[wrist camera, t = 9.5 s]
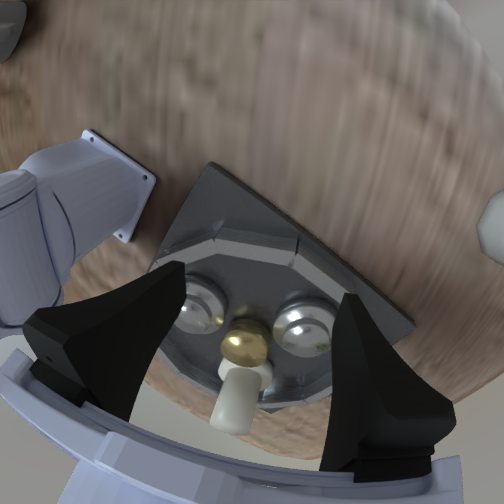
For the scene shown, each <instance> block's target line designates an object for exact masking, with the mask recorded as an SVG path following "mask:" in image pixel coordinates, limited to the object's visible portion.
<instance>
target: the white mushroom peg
mask: <svg viewBox="0 0 504 504" xmlns="http://www.w3.org/2000/svg"><path fill="white" fill-rule="evenodd" d="M218 373H219V376H220V378H221V379H222V380H223V381H224V382H223V385H222V388H221V391H220V394H219V396H218V399H217V402H216V405H215V408H214V410H213V413H212V416H211V419H210V424H211V425H212V426H213V427H214V428H216V429H218V430H219V431H221V432H224V433H227V434H231V435H246V434H248V433H249V432H250V428H251V424H252V420H253V417H254V413H255V409H256V405H257V401H258V397H259V393H260V391H263V390H265V389H267V388H268V387H269V386H270V385H271V381H272V377H273V366H272V365H271V363H270V362H269V361H268V360H267V359H266V361H265V362H264V363H263V364H262V365H260V366H257V367H252V368H247V367H241V366H238V365H235V364H233V363H231V362H230V361H228V360H227V359H226V358H225V357H223V359H222V361H221V364H220V367H219V369H218Z"/></svg>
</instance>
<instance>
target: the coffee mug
mask: <svg viewBox="0 0 504 504" xmlns="http://www.w3.org/2000/svg"><path fill="white" fill-rule="evenodd" d="M26 13H27V7H26V4H25V3H24V2H17V1H0V63H3V62H5V61H6V60H7V59H8V57H9V56H10V55H11V53H12V52H13V50H14V48H15V46H16V44H17V42H18V40H19V37H20V35H21V32H22V29H23V26H24V23H25V19H26Z"/></svg>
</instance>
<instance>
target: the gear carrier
mask: <svg viewBox="0 0 504 504" xmlns="http://www.w3.org/2000/svg"><path fill="white" fill-rule="evenodd" d="M172 260H175V261H180V262H185V277H186V291H187V298H186V301H185V303H184V305H183V308H182V310H181V312H180V314H179V316H178V317H177V319H176V321H175V322H174V324H173V325H172V327H171V329H170V330H169V332H168V333H167V335H166V337H165V338H164V340H163V341H162V343H161V344H160V346H159V348H158V349H157V351H156V353H157V355H158V356H159V357H160V358H161V359H162V360H163V362H164V363H165V364H166V365H167V366H168V367H169V368H170V369H171V371H172V372H173V373H174V374H176V375H177V376H178V377H180V378H182V379H183V380H185V381H187V382H188V383H190V384H192V385H194V386H195V387H197V388H199V389H201V390H202V391H204V392H206V393H208V394H210V395H212V396H213V397H215V398H216V397H217V398H218V396H219V394H220V391H221V388H222V385H223V382H224V381H223V380H222V379H221V378H220V376H219V373H218V369H219V367H220V364H221V361H222V359H223V357H225V358H226V359H227V360H228V361H230V362H231V363H233V364H235V365H238V366H241V367H247V368H252V367H257V366H260V365H262V364H263V363H264V362H265V361H266V359H267V360H268V361H269V362H270V363H271V365H272V366H273V377H272V381H271V385H270V386H269V387H268V388H267V389H265V390H263V391H260V393H259V397H258V401H257V405H256V407H257V408H260V409H262V410H264V411H266V412H268V413H270V414H271V413H274V412H276V411H278V410H280V409H282V408H285V407H291V406H301V405H309V404H312V403H314V402H316V401H318V400H320V399H322V398H324V397H326V396H328V395H330V394H332V360H331V339H332V327H333V324H334V321H335V318H336V315H337V313H338V310H339V307H340V304H341V301H342V298H343V295H344V293H345V292H346V293H352V294H358V296H359V297H360V299H361V300H362V302H363V304H364V305H365V307H366V309H367V310H368V312H369V314H370V315H371V317H372V319H373V320H374V322H375V323H376V325H377V327H378V328H379V330H380V331H381V332H382V334H383V335H384V337H385V338H386V339H387V341H388V342H389V344H390V345H391V346H392V345H394V344H395V343H396V342H398V341H399V340H401V339H402V338H403V337H405V336H406V335H407V334H409V333H410V332H411V331H413V330H414V329H415V328H416V325H415V322H414V320H413V319H412V318H410V317H409V316H408V315H407V314H406V313H405V312H404V311H403V310H401V309H400V308H399V307H398V306H397V305H396V304H395V303H394V302H392V301H391V300H390V299H389V298H388V297H387V296H386V295H384V294H383V293H382V292H381V291H380V290H379V289H377V288H376V287H375V286H374V285H373V284H372V283H370V282H369V281H368V280H367V279H366V278H364V277H363V276H362V275H361V274H360V273H358V272H357V271H356V270H355V269H354V268H352V267H351V266H350V265H349V264H348V263H346V262H345V261H344V260H343V259H341V258H340V257H339V256H338V255H337V254H335V253H334V252H333V251H332V250H330V249H329V248H328V247H327V246H325V245H324V244H323V243H322V242H320V241H319V240H318V239H316V238H315V237H314V236H313V235H311V234H310V233H309V232H308V231H306V230H305V229H304V228H302V227H301V226H300V225H299V224H297V223H296V222H295V221H293V220H292V219H291V218H289V217H288V216H287V215H285V214H284V213H283V212H281V211H280V210H279V209H277V208H276V207H275V206H273V205H272V204H271V203H269V202H268V201H267V200H265V199H264V198H263V197H261V196H260V195H259V194H257V193H256V192H254V191H253V190H252V189H250V188H249V187H248V186H246V185H245V184H243V183H242V182H241V181H239V180H238V179H236V178H235V177H234V176H232V175H231V174H229V173H228V172H227V171H225V170H224V169H222V168H221V167H219V166H218V165H217V164H215V163H214V162H210V163H208V164H207V165H206V167H205V168H204V170H203V171H202V173H201V175H200V176H199V178H198V180H197V181H196V183H195V185H194V186H193V188H192V190H191V191H190V193H189V195H188V197H187V198H186V200H185V202H184V203H183V205H182V207H181V209H180V210H179V212H178V214H177V216H176V218H175V219H174V221H173V223H172V225H171V227H170V228H169V230H168V232H167V234H166V236H165V238H164V240H163V242H162V243H161V245H160V247H159V249H158V251H157V253H156V255H155V257H154V259H153V261H152V263H151V265H150V267H149V269H148V271H147V273H149V272H151V271H153V270H154V269H156V268H158V267H160V266H162V265H164V264H165V263H167V262H169V261H172ZM147 273H146V274H147Z"/></svg>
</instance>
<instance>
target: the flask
mask: <svg viewBox="0 0 504 504" xmlns="http://www.w3.org/2000/svg"><path fill="white" fill-rule="evenodd" d="M477 230H478V235H479V240H480V245H481V251H482V253H484V254H485V255H487V256H488V257H489V258H491V259H492V260H494V261H495V262H496V263H498V264H501V265H503V266H504V190H503V191H501V192H499V193H498V194H496V195H495V196H493V197H491V199H490V201H489V203H488V205H487V207H486V209H485V211H484V213H483V215H482V217H481V219H480V221H479V223H478V224H477Z"/></svg>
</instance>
